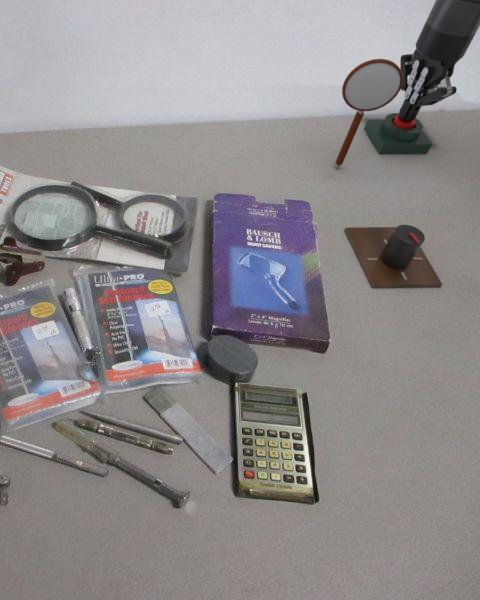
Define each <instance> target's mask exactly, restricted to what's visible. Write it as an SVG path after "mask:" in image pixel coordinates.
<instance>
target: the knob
mask: <svg viewBox="0 0 480 600" xmlns="http://www.w3.org/2000/svg"><path fill="white" fill-rule="evenodd" d="M395 227H396V228H395V230H394V232H393V234H392V235H391V237H390V239H389V241H388V242H387V244H386V246H385V248H384V249H383V251H382V253H381V259H382V261H383V262H384V263H385V264H386V265H388V266H390V267H392V268H396V269H404V268H406V267H408V265H409V264H410V262H411V261H412V259H413V258H414V256H415V255H416V253H417V251H418V250H419V248H420V247H421V248H422V245H423V243H424V242H425V241H426V240H425V239H426V237H425V233H424V232H423V231H422V230H420V229H419V228H417V227H416V226H413V225H409V224H400V225H397V226H395Z"/></svg>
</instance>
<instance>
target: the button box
mask: <svg viewBox="0 0 480 600" xmlns="http://www.w3.org/2000/svg"><path fill="white" fill-rule="evenodd" d="M396 115H399V112H392V113H389V114H387V115H386V116H385V117H384V119H367V120H366V123H365V126H364V128H363V131H364V130H365V131H366V132H365V131H364V132H365V135H366V136H367V138H368V139H369V141H370V142H371V144H372V145H373V147H374V149H375V151H376V152H377V154H378V155H427V154H429V151H430V150H431V148H432V146H433V143H432V141H431V140H430V139H429V137H428V136H427V135H426V133H425V131H424V130H423V128H424V125H423V124H422V122H421V121H420V120H419V119H417V117H416V118H415V120H416V123H415V125H414V127H413V129H411V130H405V129H401V128H398V127H397V126H395V125H394V124H393V123H392V122H393V120H394V118H395V116H396Z"/></svg>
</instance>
